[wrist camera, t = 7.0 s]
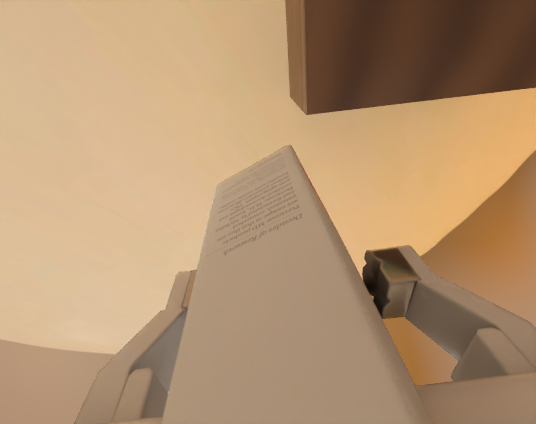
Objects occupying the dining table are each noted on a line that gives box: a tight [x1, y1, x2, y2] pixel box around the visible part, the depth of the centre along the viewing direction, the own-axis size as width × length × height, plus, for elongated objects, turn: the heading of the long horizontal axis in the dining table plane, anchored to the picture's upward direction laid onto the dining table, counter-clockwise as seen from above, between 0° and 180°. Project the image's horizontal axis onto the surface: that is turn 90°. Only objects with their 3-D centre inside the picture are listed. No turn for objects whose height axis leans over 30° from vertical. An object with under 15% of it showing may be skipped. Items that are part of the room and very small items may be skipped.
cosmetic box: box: [161, 145, 432, 424], centre depth 8 cm, size 6×4×12 cm
